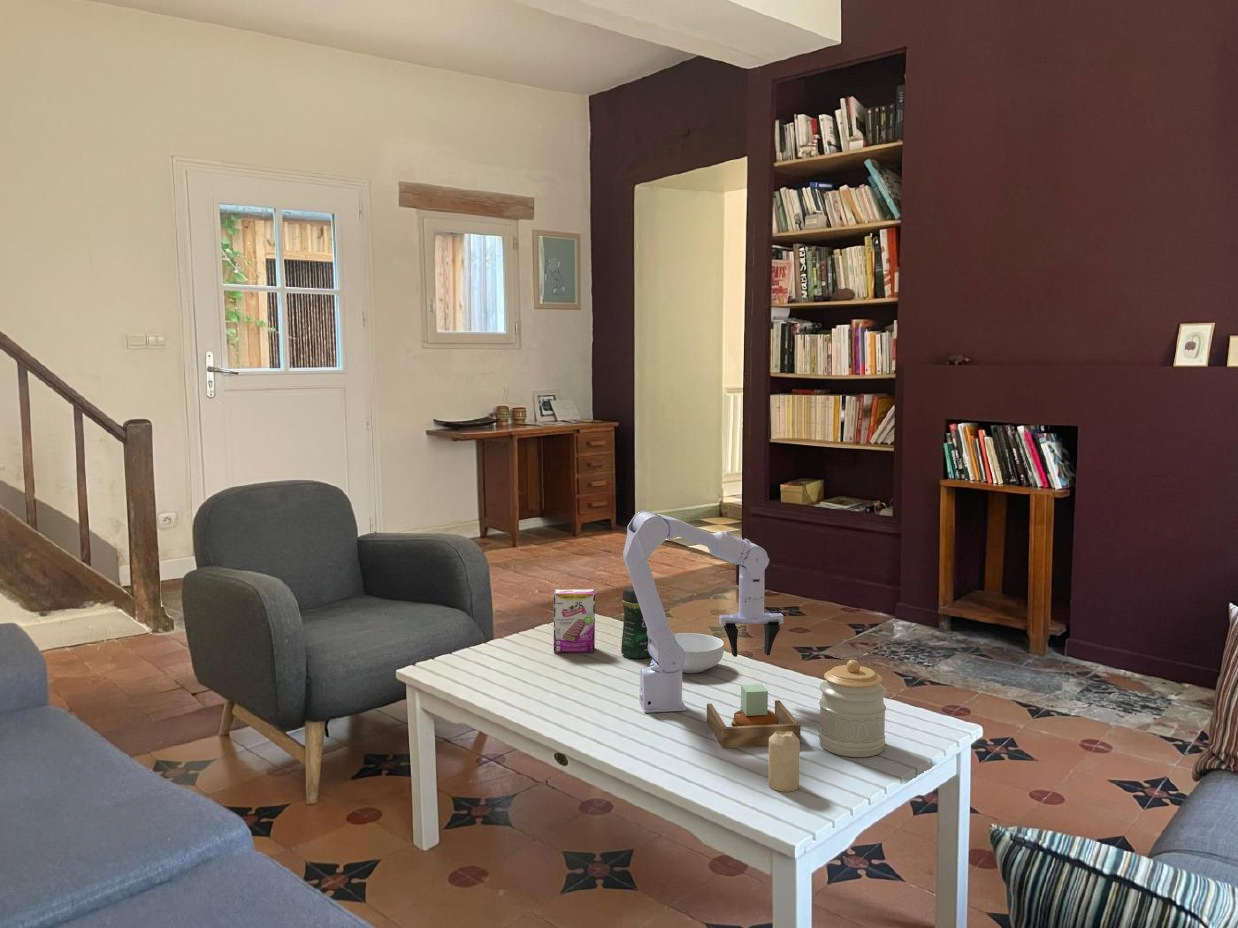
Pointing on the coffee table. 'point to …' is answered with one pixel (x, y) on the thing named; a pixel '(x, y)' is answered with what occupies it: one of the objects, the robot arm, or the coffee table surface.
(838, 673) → the jar
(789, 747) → the candle
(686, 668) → the cereal bowl
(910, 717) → the coffee table surface
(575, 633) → the candy bar box
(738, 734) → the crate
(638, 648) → the coffee jar
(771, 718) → the burger
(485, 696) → the coffee table surface
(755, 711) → the pale green cube
